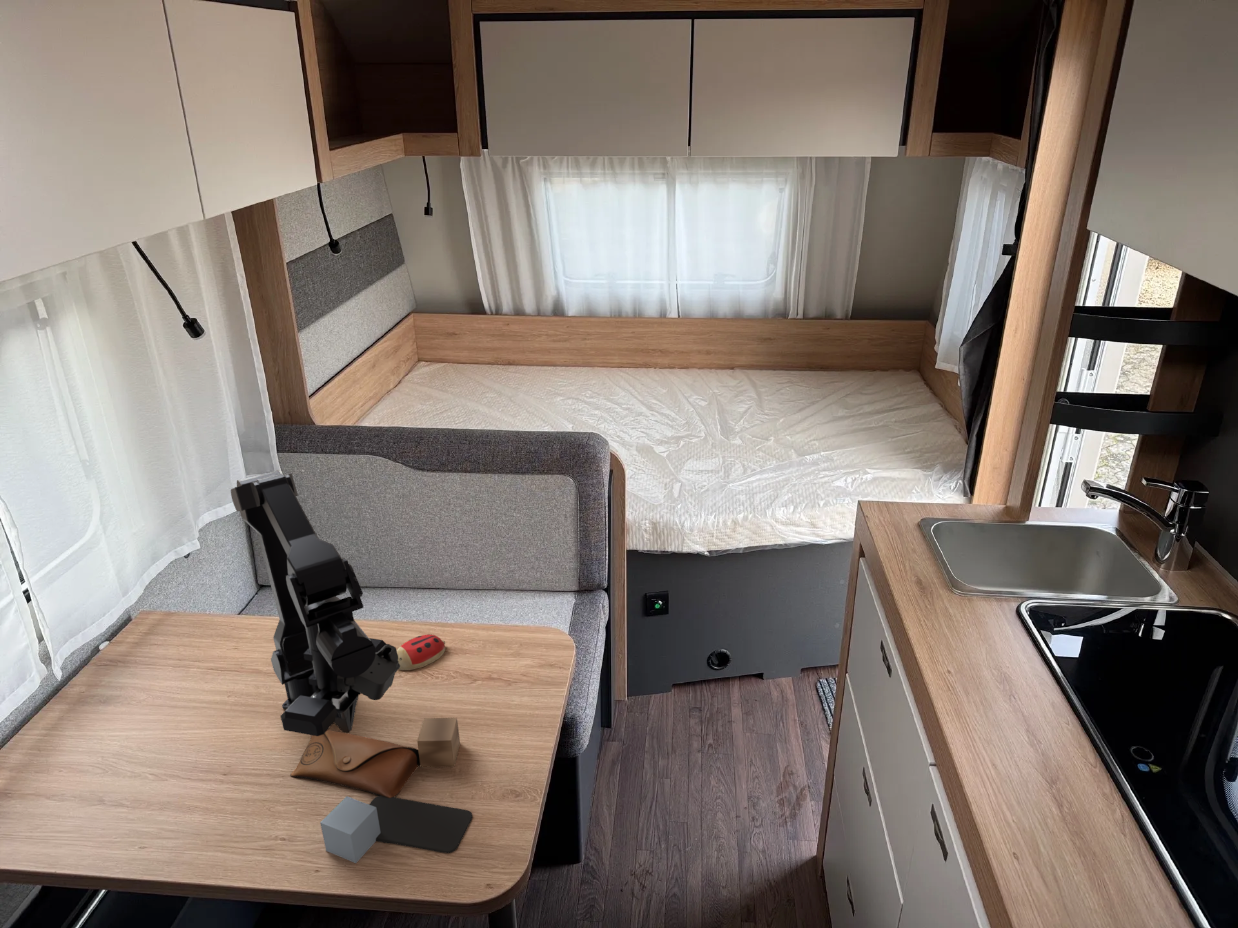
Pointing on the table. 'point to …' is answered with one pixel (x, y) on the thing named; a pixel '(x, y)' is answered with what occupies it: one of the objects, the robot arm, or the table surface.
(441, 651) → the ladybug figurine
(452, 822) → the phone
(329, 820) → the slate block
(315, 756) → the sunglasses case
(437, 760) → the walnut block
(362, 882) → the table surface
